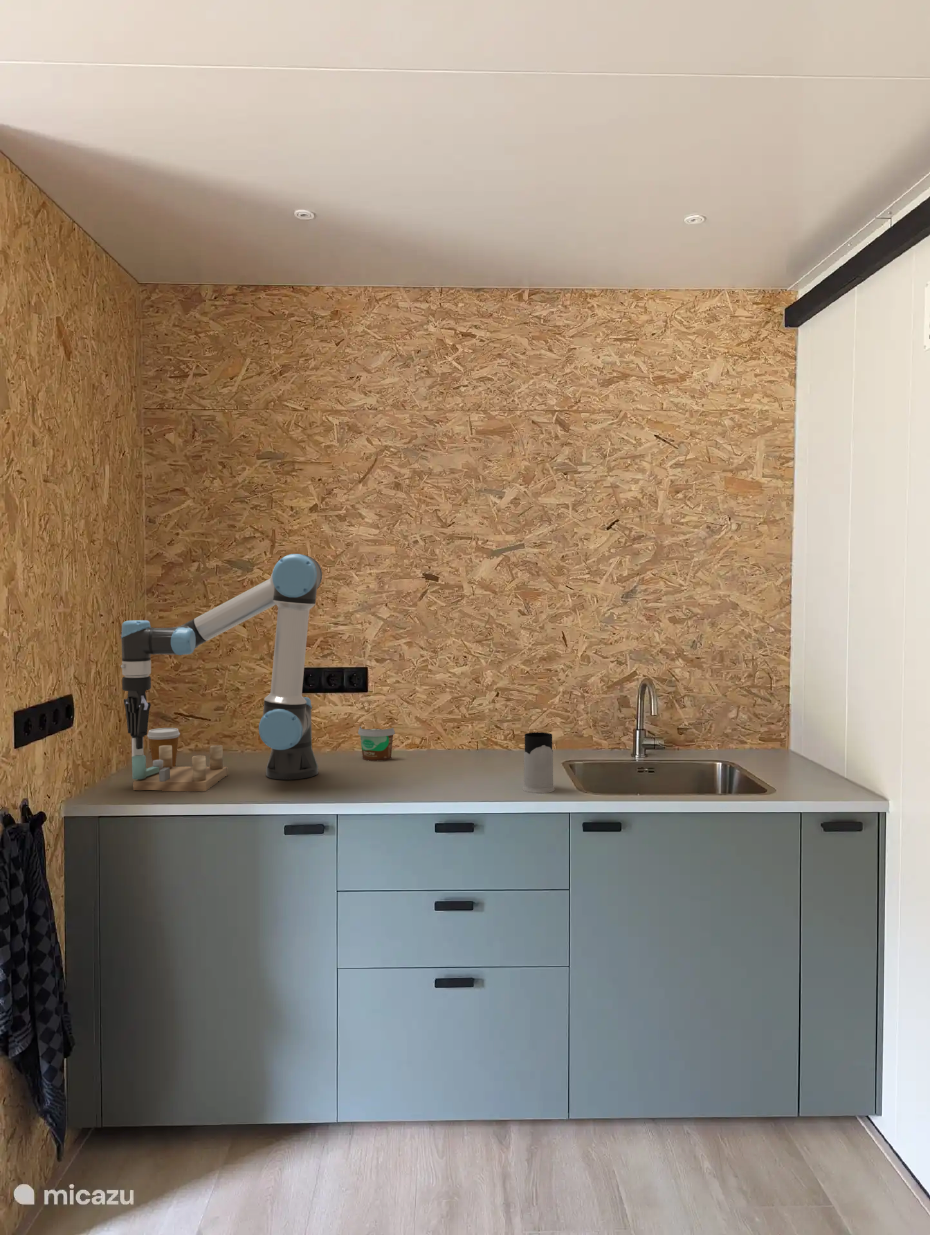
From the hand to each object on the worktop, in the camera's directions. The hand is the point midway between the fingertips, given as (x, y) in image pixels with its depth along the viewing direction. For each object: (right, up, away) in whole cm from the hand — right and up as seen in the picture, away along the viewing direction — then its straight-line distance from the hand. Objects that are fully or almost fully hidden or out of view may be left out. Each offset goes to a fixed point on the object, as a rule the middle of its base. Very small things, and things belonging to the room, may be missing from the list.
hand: (137, 760), depth 254 cm
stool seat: (+11, -7, +5) cm, 14 cm away
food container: (+62, -6, +36) cm, 72 cm away
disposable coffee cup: (0, -7, +23) cm, 24 cm away
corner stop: (+8, -5, -3) cm, 10 cm away
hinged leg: (+2, -4, +2) cm, 5 cm away
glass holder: (+111, -7, -3) cm, 111 cm away
